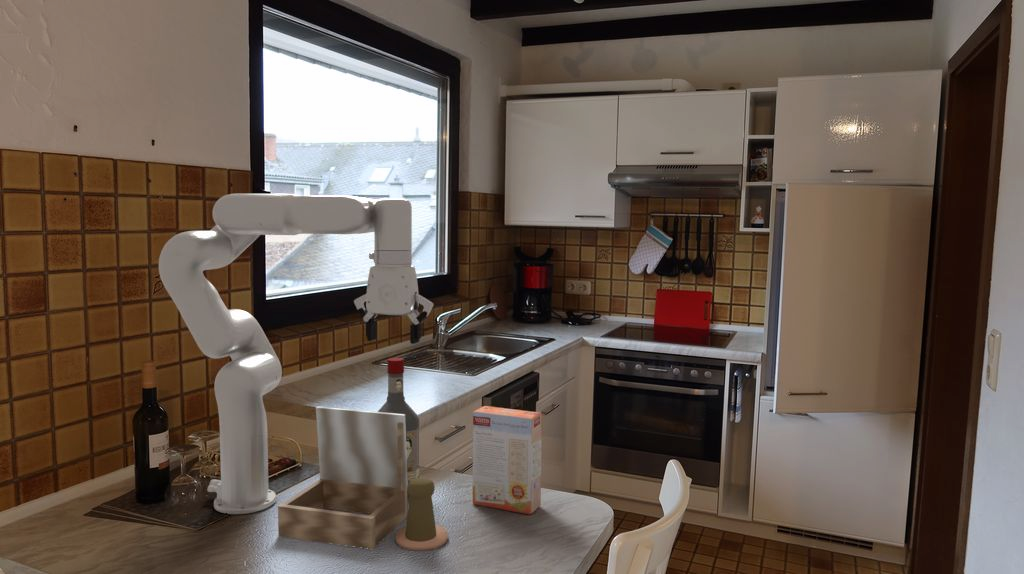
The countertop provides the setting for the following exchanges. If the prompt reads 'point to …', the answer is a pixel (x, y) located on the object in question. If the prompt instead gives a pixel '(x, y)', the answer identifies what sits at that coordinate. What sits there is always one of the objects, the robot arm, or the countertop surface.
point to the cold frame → (352, 481)
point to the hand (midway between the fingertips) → (393, 341)
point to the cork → (420, 510)
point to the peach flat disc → (424, 545)
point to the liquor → (399, 406)
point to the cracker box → (507, 459)
